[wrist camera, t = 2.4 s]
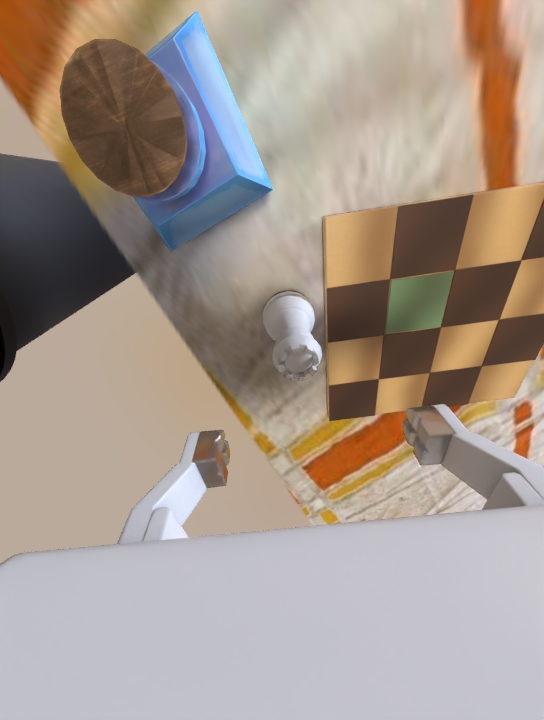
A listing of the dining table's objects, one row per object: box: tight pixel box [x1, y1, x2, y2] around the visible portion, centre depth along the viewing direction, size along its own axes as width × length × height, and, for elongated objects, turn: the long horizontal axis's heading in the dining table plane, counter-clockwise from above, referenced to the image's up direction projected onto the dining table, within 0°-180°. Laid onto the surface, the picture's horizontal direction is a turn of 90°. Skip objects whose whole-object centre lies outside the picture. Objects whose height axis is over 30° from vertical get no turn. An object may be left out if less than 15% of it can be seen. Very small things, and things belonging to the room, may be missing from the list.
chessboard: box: [323, 182, 544, 421], centre depth 23 cm, size 20×20×1 cm
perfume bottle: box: [60, 11, 273, 251], centre depth 12 cm, size 6×6×12 cm
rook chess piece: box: [263, 291, 322, 381], centre depth 20 cm, size 4×4×8 cm
